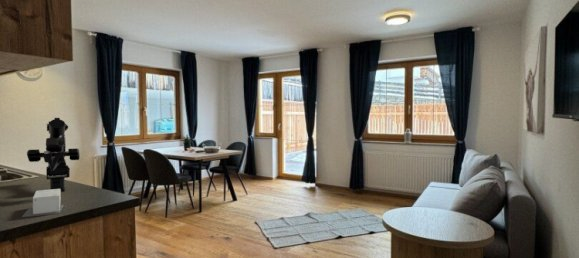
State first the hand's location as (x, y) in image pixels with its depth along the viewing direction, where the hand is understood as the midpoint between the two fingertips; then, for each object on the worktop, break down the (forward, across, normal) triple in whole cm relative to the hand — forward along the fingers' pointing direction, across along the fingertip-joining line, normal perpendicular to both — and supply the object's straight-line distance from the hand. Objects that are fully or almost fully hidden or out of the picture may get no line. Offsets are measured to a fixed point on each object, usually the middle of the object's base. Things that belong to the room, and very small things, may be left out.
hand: (52, 170), depth 139 cm
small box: (+14, 0, -1) cm, 14 cm away
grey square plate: (+23, 0, -5) cm, 23 cm away
